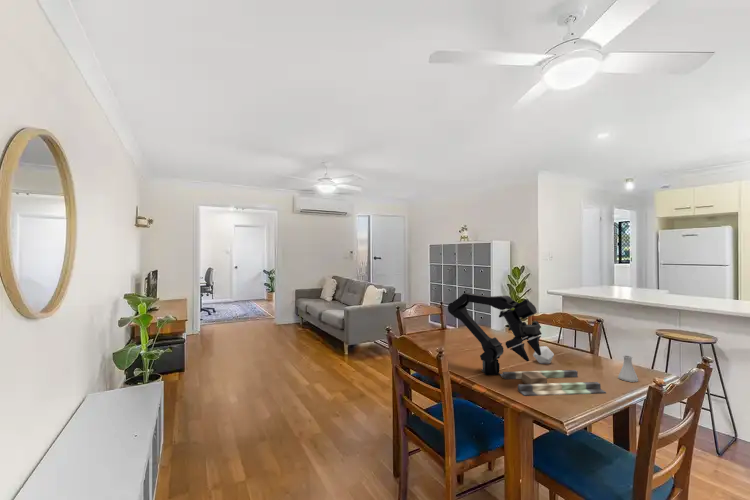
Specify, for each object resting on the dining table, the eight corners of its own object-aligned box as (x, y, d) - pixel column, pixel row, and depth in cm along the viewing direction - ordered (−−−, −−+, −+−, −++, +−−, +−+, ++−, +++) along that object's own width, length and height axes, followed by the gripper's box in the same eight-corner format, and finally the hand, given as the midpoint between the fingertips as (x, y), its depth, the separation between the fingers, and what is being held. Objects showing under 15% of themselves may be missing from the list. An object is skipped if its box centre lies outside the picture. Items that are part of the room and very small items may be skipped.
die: (552, 368, 164) (559, 350, 167) (535, 358, 165) (542, 340, 168) (544, 368, 172) (551, 351, 175) (528, 359, 173) (535, 342, 176)
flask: (632, 383, 143) (632, 359, 143) (614, 378, 149) (613, 355, 149) (642, 380, 146) (641, 357, 146) (623, 375, 153) (623, 352, 153)
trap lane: (524, 395, 131) (524, 389, 131) (499, 375, 153) (499, 369, 153) (606, 393, 133) (606, 386, 133) (570, 373, 155) (570, 367, 155)
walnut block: (530, 388, 139) (530, 378, 139) (521, 381, 146) (521, 372, 146) (547, 387, 140) (547, 377, 140) (537, 381, 147) (537, 371, 147)
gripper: (517, 320, 136) (538, 358, 131) (541, 311, 147) (562, 346, 142) (497, 330, 145) (515, 366, 139) (521, 321, 155) (540, 354, 150)
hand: (534, 358), depth 142 cm, fingers open, 9 cm apart
